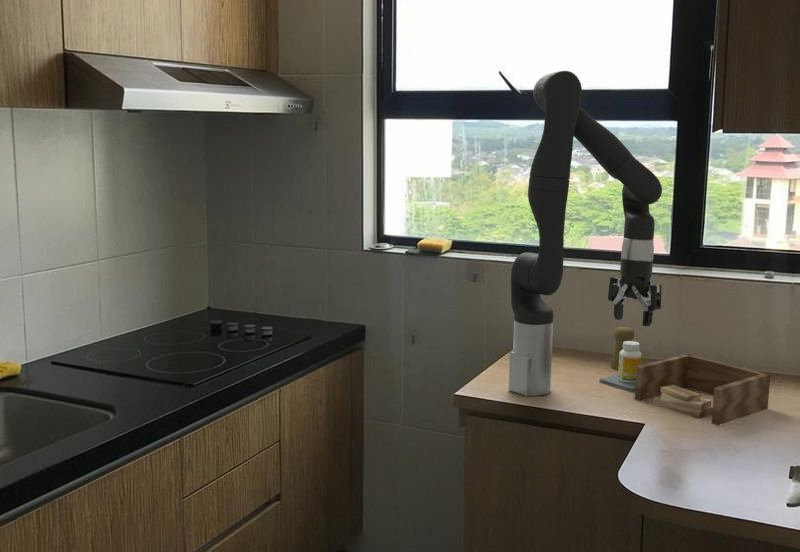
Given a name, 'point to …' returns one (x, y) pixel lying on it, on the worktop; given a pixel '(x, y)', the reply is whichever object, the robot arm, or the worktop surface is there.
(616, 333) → the cork
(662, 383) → the walnut open frame
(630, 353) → the supplement bottle
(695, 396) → the offcut stack
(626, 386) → the slate mat
